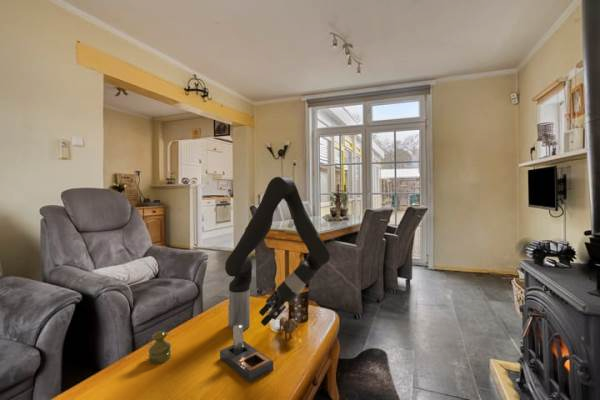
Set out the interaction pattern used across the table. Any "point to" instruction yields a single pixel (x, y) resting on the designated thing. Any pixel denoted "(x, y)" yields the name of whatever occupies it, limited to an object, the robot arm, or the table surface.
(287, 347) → the table surface
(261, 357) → the block with square holes
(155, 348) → the bronze chess pawn
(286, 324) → the lion figurine
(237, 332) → the steel peg
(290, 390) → the table surface
